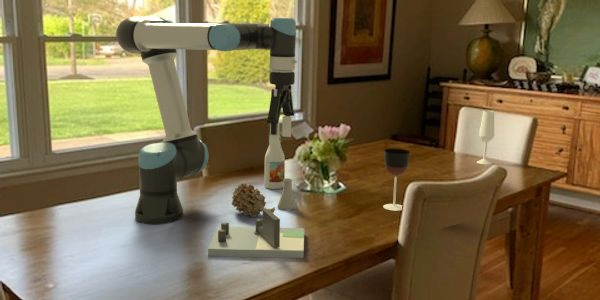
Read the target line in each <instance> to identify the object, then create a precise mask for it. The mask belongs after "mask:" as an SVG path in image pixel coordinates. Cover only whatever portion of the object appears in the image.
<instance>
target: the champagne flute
mask: <svg viewBox="0 0 600 300" xmlns="http://www.w3.org/2000/svg"><path fill="white" fill-rule="evenodd" d="M480 121H481V122H480V127H479V132H478V136H479V138H480V139H481V141H482V142H484V146H483V147H484V148H483V156H482V157H483V158H482V159H480V160H478V161H476V163H477V164H480V165H492V162H491V161H490V160H488V159H487V149H488V148H487V147H488V143H489V142H490V141H491V140H493V139H494V137H495V111H493V110H482V116H481V120H480Z"/></svg>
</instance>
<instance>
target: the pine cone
mask: <svg viewBox="0 0 600 300" xmlns="http://www.w3.org/2000/svg"><path fill="white" fill-rule="evenodd" d="M231 199H232V201H231V205H232V206H233V208H236V209H235V210H236V211H238V213H243V215H246V216H247V215H250V217H251V218H253V217H254V218H255V217H256V216H257V214H258V215H260V214H261V213H263V210H266V209H268V210H269V211H271V212H272V213H273V214H274V213H275V211H276V208H275V207H272V208H267V207H266V204H267V202H266V201H265V200H266V196H264V194H261V190H259V189H258V188H255V186H254V185H252V184H249V185H248V184H246V183H241V184H239V185H238V186H237V187H235V188H234V191H233V192H232V197H231Z"/></svg>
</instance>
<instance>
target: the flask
mask: <svg viewBox="0 0 600 300" xmlns="http://www.w3.org/2000/svg"><path fill="white" fill-rule="evenodd" d="M283 181H284V187H283V188H282V189H283V190H282V192H281V195H280V198H279V200H278V203H277V206H276V207H277V209H279V210H283V211H294V210H296V209H297V208H299V207H298V204H297V202H296V199H295V195H294V192H293V185H292V182H293V178H286V177H285V179H283Z"/></svg>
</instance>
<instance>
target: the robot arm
mask: <svg viewBox="0 0 600 300" xmlns="http://www.w3.org/2000/svg"><path fill="white" fill-rule="evenodd" d="M296 25H297V23H296V20H295V19H294V18H292V17H291V18H290V17H271V18H270V22H269V23H268V24H267V23H252V22H251V23H250V22H241V23H227V22H226V23H223V22H222V23H185V22H183V23H180V22H179V23H175V22H173V21H172V20H170V19H168V18H167V17H161V16H131V17H127V18H125V19H124V20H122V21H121V22H119V24H118V25H117V28H116V32H115V35H116V36H115V37H116V40H117V43H118V45H119V46H120V47H121V49H123V50H124V51H126V52H127V53H130V54H135V55H137V54H139V55H140V57H141V61H142V62H143V63H145V64H146V65H147V66H148V70H149V74H150V78H151V81H152V86H153V89H154V94H155V97H156V101H157V105H158V109H159V114H160V117H161V122H162V125H163V130H164V133H165V136H164V138H163V140H162V142H157V143H155V142H154V143H150V144H147V145H145V146H143V147H142V148H141V149H140V150H139V152H138V161H137V164H138V179H139V181H138V183H139V197H138V200H137V203H136V207H135V211H134V215H135V216H134V217H135V220H136V221H137V222H140V223H142V224H146V225H164V224H165V225H166V224H170V223H174V222H176V221H177V222H178V221H179V220H182V219H183V217H184V208H183V205H182V202H181V200H180V198H179V195H178V181H180V180H182V179H185V178H187V177H191V176H195V175H196V174H199V173H200V172H202V171H203V170H204V169H205V168H206V166H207V164H208V162H209V150H208V147H207V145H206V144H205V143H204V142H203V141H202V140H201V139H199V138H198V134H197V132H195V131H194V130H192V127H191V124H190V120H189V116H188V113H187V112H188V111H187V108H186V105H185V99H184V96H183V92H182V91H183V90H182V87H181V82H180V79H179V75H178V71H177V67H176V64H175V63H176V62H175V58H176V57H177V56H178V52H177V50H192V51H193V50H197V51H198V50H199V51H201V50H202V51H204V50H206V51H207V50H208V51H219V52H231V51H243V50H244V51H245V50H246V51H247V50H266V51H269V69H270V72H269V81H268V82H269V84H270V85H274V88H272V89H271V95H270V103H269V110H268V116H267V119H266V123H267V124H269V136H270V145H275V146H279V136H280V123H279V122H280V117H281V113H282V112H283V113H282V114H283V116H282V121H281V122H282V125H281V126H282V127H281V137H286V138H291V137H292V117H294V116H295V111H294V103H293V96H292V88H293V86H292V85H294V84H295V81H296V80H295V75H296V73H295V72H294V70H295V69H296V67H295V66H296V64H297V63H298V62H297V60H296V42H297V41H296V39H297V38H296V36H297V26H296Z"/></svg>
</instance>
